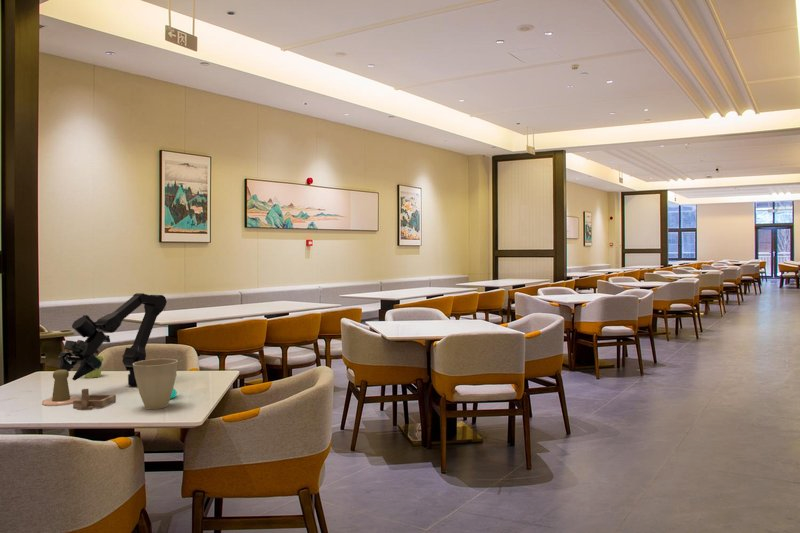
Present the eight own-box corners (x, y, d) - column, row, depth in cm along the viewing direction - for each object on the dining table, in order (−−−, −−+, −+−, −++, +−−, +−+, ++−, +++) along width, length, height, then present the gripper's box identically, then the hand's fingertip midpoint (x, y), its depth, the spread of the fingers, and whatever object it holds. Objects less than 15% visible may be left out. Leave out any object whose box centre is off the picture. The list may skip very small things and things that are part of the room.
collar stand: (88, 401, 231) (88, 382, 231) (115, 401, 230) (115, 382, 230) (69, 409, 218) (69, 389, 218) (98, 409, 218) (98, 389, 218)
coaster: (78, 397, 238) (78, 395, 238) (79, 403, 227) (79, 401, 227) (42, 400, 233) (42, 398, 232) (41, 407, 222) (41, 405, 222)
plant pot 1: (98, 378, 274) (97, 359, 274) (76, 379, 274) (76, 359, 274) (108, 374, 284) (108, 355, 283) (87, 375, 284) (87, 355, 284)
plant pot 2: (164, 400, 232) (163, 357, 232) (186, 406, 223) (186, 361, 223) (125, 407, 221) (124, 362, 221) (146, 414, 211) (146, 367, 211)
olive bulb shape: (56, 402, 226) (55, 372, 226) (48, 400, 230) (48, 370, 229) (73, 399, 231) (73, 369, 231) (65, 397, 234) (65, 367, 234)
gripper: (62, 330, 240) (34, 364, 231) (93, 333, 231) (66, 368, 222) (81, 348, 247) (55, 381, 238) (112, 351, 239) (87, 385, 229)
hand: (65, 378), depth 232 cm, fingers open, 9 cm apart
